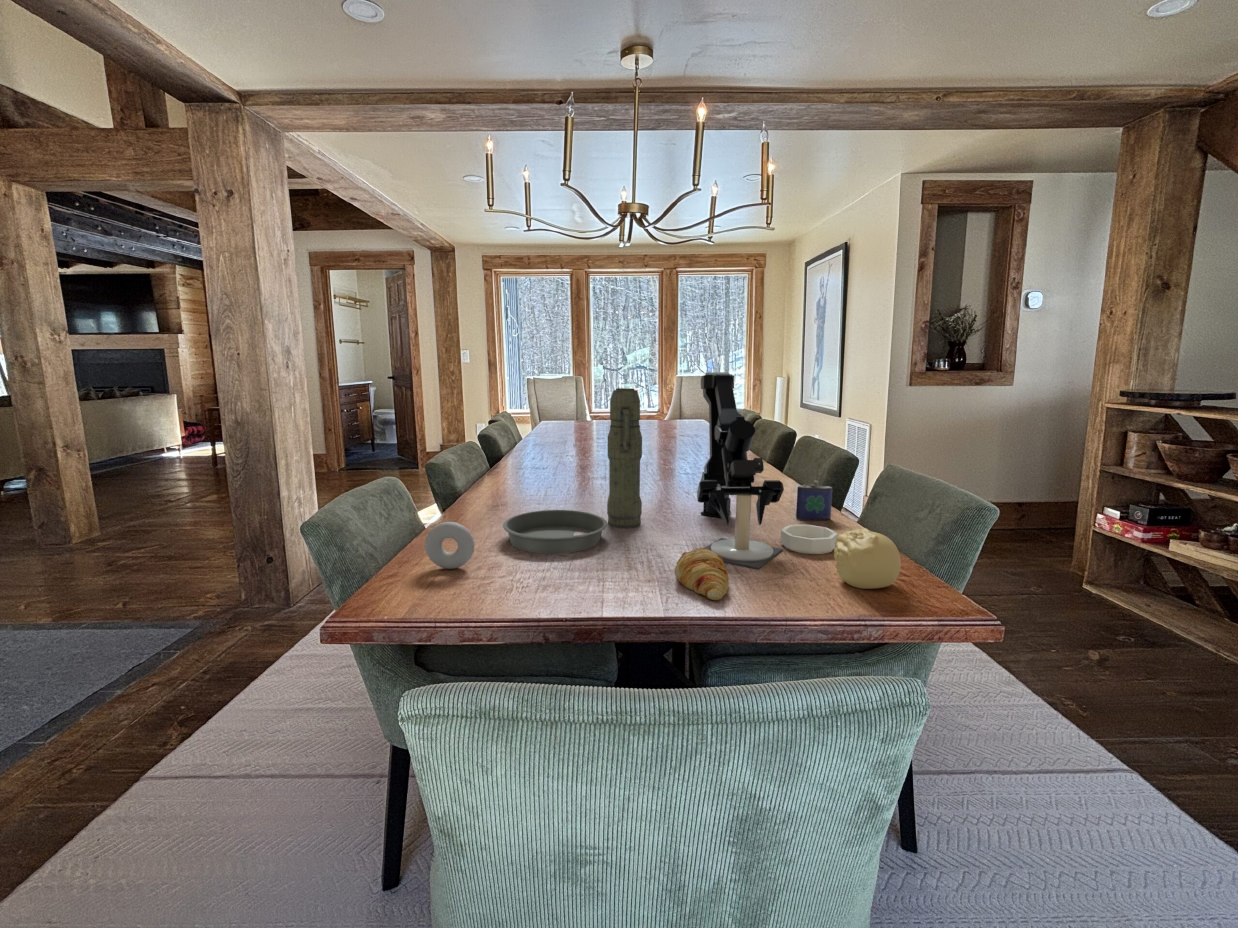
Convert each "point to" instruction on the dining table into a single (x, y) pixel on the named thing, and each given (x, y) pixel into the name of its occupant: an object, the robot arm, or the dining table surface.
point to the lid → (742, 537)
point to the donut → (446, 558)
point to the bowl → (808, 539)
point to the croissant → (703, 573)
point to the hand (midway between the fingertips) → (744, 523)
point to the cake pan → (554, 530)
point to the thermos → (624, 459)
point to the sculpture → (866, 559)
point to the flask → (814, 502)
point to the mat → (749, 563)
